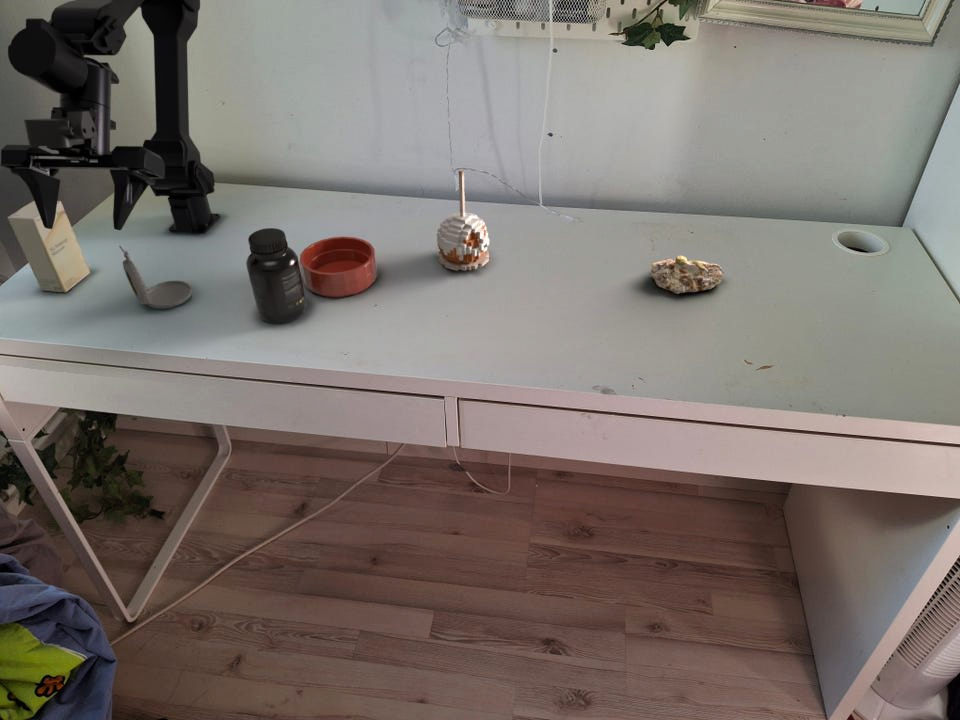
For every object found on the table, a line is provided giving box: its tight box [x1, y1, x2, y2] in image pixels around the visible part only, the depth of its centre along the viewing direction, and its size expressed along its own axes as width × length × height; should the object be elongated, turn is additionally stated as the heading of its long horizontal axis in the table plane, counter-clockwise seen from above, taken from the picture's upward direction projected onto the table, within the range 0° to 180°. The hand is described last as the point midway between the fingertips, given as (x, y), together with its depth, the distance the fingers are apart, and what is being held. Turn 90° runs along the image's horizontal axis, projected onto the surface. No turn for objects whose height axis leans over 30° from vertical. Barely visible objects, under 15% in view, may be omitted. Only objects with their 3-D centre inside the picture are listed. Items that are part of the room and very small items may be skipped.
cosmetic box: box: [7, 200, 91, 293], centre depth 105 cm, size 6×4×12 cm
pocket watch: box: [118, 245, 193, 310], centre depth 102 cm, size 8×8×10 cm
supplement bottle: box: [245, 227, 308, 324], centre depth 98 cm, size 7×7×12 cm
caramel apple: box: [436, 168, 490, 272], centre depth 108 cm, size 8×8×15 cm
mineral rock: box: [650, 255, 725, 295], centre depth 106 cm, size 11×4×8 cm
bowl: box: [299, 236, 378, 298], centre depth 107 cm, size 11×11×4 cm
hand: (82, 229), depth 92 cm, fingers open, 9 cm apart
